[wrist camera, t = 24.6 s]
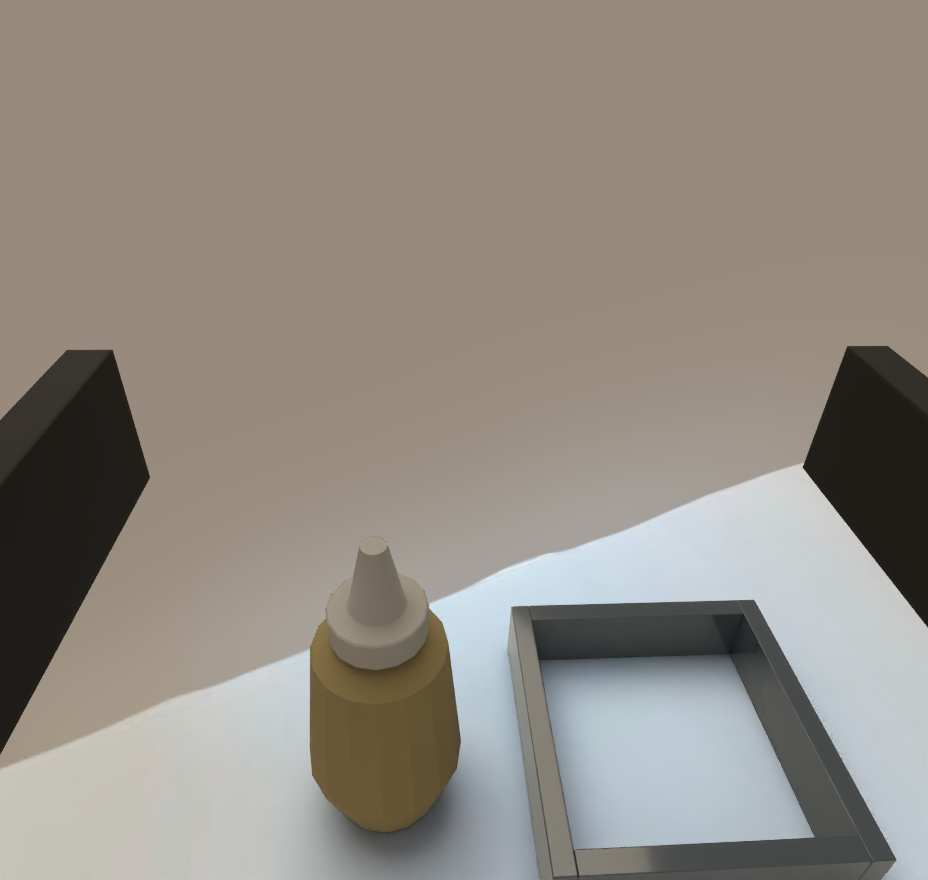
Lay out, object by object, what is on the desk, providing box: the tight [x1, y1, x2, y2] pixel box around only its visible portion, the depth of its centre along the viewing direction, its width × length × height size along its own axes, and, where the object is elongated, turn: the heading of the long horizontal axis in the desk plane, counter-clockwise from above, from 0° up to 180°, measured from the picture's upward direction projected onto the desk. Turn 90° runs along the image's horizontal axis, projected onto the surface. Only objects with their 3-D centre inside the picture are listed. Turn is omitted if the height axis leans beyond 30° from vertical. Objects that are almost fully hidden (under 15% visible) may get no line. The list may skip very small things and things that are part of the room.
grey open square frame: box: [508, 600, 896, 880], centre depth 40 cm, size 16×16×4 cm
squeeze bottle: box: [310, 536, 461, 833], centre depth 34 cm, size 8×8×18 cm
